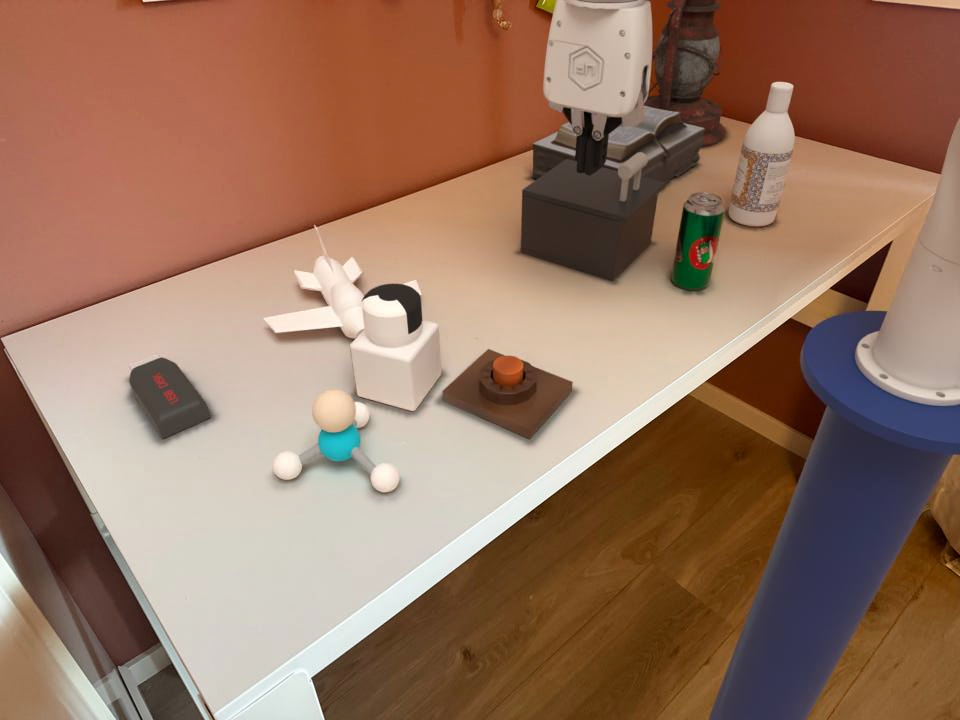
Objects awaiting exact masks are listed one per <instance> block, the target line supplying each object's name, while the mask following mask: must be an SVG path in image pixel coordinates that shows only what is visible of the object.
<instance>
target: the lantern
mask: <svg viewBox="0 0 960 720" xmlns="http://www.w3.org/2000/svg"><path fill="white" fill-rule="evenodd" d="M666 6H667V8H669V9H671V11H670V13H669V16H668V19H667V22H666V24H665V25H664V26H663V28H662V30H661V31H660V36H659V38H658V41H657V44H656V45H655V46H654V47H652V62H653V61H654V74H655V80H656V82H655V83H654V82H653V80H652V77H650V82H651V84H652V85H653V86H652V87H651V88H649V92H648V95H649V94H650V93H651V92H652V91H653V90H654V89H656V91H657V93H658V94H655V95H650V96H648V97H647V100H646V102H645V103H644V106H647V107H651V108H656V109H661V110H666V111H672V112H678V113H679V114H680V118H681V120H682V122H683V123H685V124H689V125H694V126H698V127H702V128H705V131H704V134H703V141H702V145H701V148H705V147H709V146H712V145H716V144H718V143H720V142H721V141H723V139H724V138H725V136H726V128H725V127H724V126H723V124H722V123H721V122H720V121H721V117H722V108H721V106H720V105H719V104H717V103H716V102H714V101H713V100H711V99H710V100H709V99H706V98H703V97H701V96H702V95H703V93H704V91H705V89H706V88H707V86H709V84H710V83H711V81H712V80H713V79H714V78H715V76H719V75H720V74H721V68H720V67H721V64H722V60H723V59H722V58H723V52H722V51H723V50H722V47H721V44H720V37H719V35H720V33H719V29H718V27H717V26H716V25H715V23H714V19H715V13H716V11H718V10H721V9H722V7H723V5H722V4H721V3H720V2H717V1H716V0H669V1H668V2H666ZM719 53H720V62H719V64H718V63H717V62H718V58H719ZM716 67H717V70H716V71H715V69H716ZM657 86H658V88H657Z"/></svg>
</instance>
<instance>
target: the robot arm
mask: <svg viewBox="0 0 960 720" xmlns="http://www.w3.org/2000/svg"><path fill="white" fill-rule="evenodd" d="M548 32H549V33H548V37H547V38H548V39H547V45H546V51H545V60H544V70H543V83H542V89H543V96H544V98H545V99H546V100H547V106H548V107H549V108H550V109H552V110H554V111H556V112H558V113H560V114H563V115H564V117H565V118H566V119H567V121H568V122H570V124H571V125H572V132H573V134H574V135H576V136H577V138H576V152H575V160H576V161H577V170H576V171H577V172H578V173H585V174H586V175H589V176H591V175H592V174H594V173H595V172H596V171H598V170H599V169H600V168H602V166H603V165H604V164H605V162H606V158H607V148H608V138H609V134H610V133H611V132H613V131H614V130H615V129H616V128H618V127H620V126H622V127H627V126H637V125H639V124H640V123H642V122H643V121H644V119H645V115H644V103H645V102H646V100H647V97H649V94H648V92H649V90H650V86H651V79H650V77H651V76H652V63H653V61H652V59H653V57H652V50H653V15H652V4H651V0H556V1H555V5H554V9H553V13H552V17H551V22H550V26H549V31H548ZM651 78H652V77H651ZM594 113H595V114H596V119H595V123H594ZM886 311H887V314H886V316H885V319H884V321H883V324H882V326H881V329H880V331H877V332H874V333H871V334H868V335H867V336H865V337H864V338H862V339H861V340H860V342H859V343H858V345H857V348H856V350H855V356H854V357H855V362H856V364H857V366H858V368H859V370H860V371H861V372H862V373H863V374H864V376H865V377H866V378H867V379H869V380H870V381H871V382H872V383H873V384H875V385H876V386H878V387H879V388H881V389H883V390H884V391H886V392H888V393H890V394H892V395H894V396H897V397H900V398H902V399H905V400H908V401H912V402H915V403H919V404H925V405H931V406H954V405H959V404H960V117H958V120H957V122H956V124H955V126H954V129H953V131H952V135H951V137H950V141H949V143H948V147H947V151H946V154H945V158H944V162H943V165H942V168H941V171H940V176H939V179H938V183H937V186H936V189H935V192H934V195H933V197H932V201H931V203H930V205H929V208H928V211H927V213H926V216H925V218H924V221H923V223H922V226H921V228H920V231H919V233H918V235H917V237H916V240H915V243H914V245H913V247H912V250H911V252H910V255H909V257H908V260H907V262H906V264H905V267H904V269H903V272H902V274H901V277H900V279H899V282H898V285H897V287H896V289H895V291H894V294H893V296H892V299H891V302H890V304H889V307H888V308H887V310H886Z"/></svg>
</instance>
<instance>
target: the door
mask: <svg viewBox="0 0 960 720" xmlns="http://www.w3.org/2000/svg"><path fill="white" fill-rule="evenodd" d="M647 163H648V158H647V156H646V155H645V154H644V153H642V152H639V153H636V154H635V155H634V156H633V157H631V158H630V159H629V160H628V161H626V162H625V163H624V164H622V165H621V166H620V167H619V169H618V171H616V170H611V169H607V168H603V167H602V168H600V169H599V170H598V171H596V172H595V173H594V174H592V175H591V176H589V175H586V174H585V173H578V172H577V171H576V170H577V161H573V160H569V159H566V160H564V161H563V162H562V163H560V164H559V165H557V166H556V167H554V168H553V169H551V170H550V171H549V172H547V173H546V174H544V175H543V176H541V177H540V178H538V179H536V180H534V181H533V182H531V183H530V184H528V185H527V186H525V187H524V188H523V189H522V190H521V196H522V195H524V196H528V197H532V198H535V199H539V200H543V201H546V202H550V203H554V204H557V205H561V206H565V207H568V208H572V209H576V210H580V211H583V212H587V213H591V214H594V215H598V216H602V217H605V218H609V219H613V220H616V221H620V222H624V223H626V222H628V221H629V220H630V219H631V218H632V217H633V216H634V215H635V214H636V213H637V212H638V211H640V210H641V209H642V208H643V207H644V206H645V205H646V204H647V203H648V202H649V201H650V200H652V199H653V198H654V197H655V196H656V195H657V194H658V195H659V194H660V192H662V191H663V190H664V189H665V187H666V184H665V182H662V181H658V180H654V179H649V178H645V177H641V171H642V168H643V167H645V166H646V165H647Z"/></svg>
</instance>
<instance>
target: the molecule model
mask: <svg viewBox="0 0 960 720" xmlns="http://www.w3.org/2000/svg"><path fill="white" fill-rule="evenodd" d="M311 416H312V419H313V421H314V422H315V424H316V425H317V426H318V428H319V429H321V430H320V431H319V432H318V437H317V443H316V444H315V445H312V446H311V447H310V448H308V449H307V450H305V451H303V452H301V453H300V454H298V453H297V452H294V451H292V450H285V451H282V452H280V453H278V454H277V455H276V456H275V458H274V459H273V462H272V470H273V472H274V474H275V475H276V476H277V477H278V478H279V479H281V480H286V481H289V480H293V479H295V478H297V477H298V476H299V475H300V473H301V472H302V469H303V466H304V465H305V464H307V463H309V462H310V461H312V460H314V459H315V458H317V457H318V456H320V455H321V454H322V455H323V456H324V457H325V458H327V459H328V460H330V461H332V462H345V461H347V460H350V459H352V458H353V459H354V460H355V461H356V462H357V464H359V465H360V466H361V467H362V468H363V470H365V472H366V473H368V474H369V475H370V483H371V485H372V487H373V488H374V489H375V490H376V491H378V492H380V493H389V492H392V491H393V490H395V489H396V488H397V487H398V485H399V484H400V479H401V475H400V474H401V473H400V472H399V469H398V468H397V467H396V466H395V465H394V464H392V463H390V462H381V463H379V464H377V465H376V464H374V462H373V461H372V460H371V459H370V458H369V457H368V456H367V455H366V454H365V453H364V452H363V451H362V450H361V449H360V446H361V434H360V431H359V429H361V428H363V427H365V426H366V425H367V424H368V422H369V420H370V409H369V408H368V406H367V405H366V404H364V403H362V402H359V401H354V399H353V397H352V396H351V395H350V394H349V393H347V392H346V391H344V390H342V389H335V388H333V389H332V388H331V389H327V390H325V391H323V392H321V393H320V394H318V395H317V396H316V398H315V400H314V401H313V404H312V408H311Z"/></svg>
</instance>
